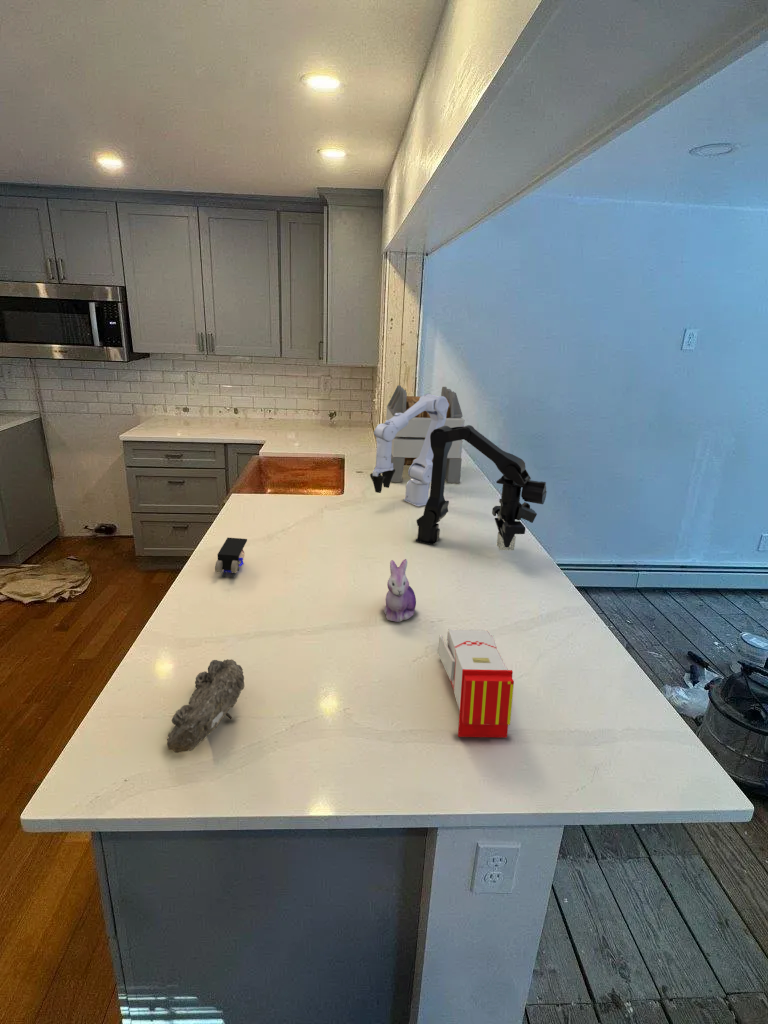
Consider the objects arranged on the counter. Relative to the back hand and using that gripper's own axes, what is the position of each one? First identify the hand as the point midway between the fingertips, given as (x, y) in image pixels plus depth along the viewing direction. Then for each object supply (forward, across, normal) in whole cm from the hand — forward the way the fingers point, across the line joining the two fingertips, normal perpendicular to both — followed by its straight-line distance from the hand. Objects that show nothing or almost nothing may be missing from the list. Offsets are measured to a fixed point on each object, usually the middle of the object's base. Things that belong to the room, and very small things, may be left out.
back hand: (382, 489), depth 220 cm
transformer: (+8, +58, +6) cm, 59 cm away
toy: (+8, -93, -63) cm, 113 cm away
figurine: (+8, -70, -38) cm, 80 cm away
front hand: (+3, -21, -54) cm, 58 cm away
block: (+5, -21, -54) cm, 58 cm away
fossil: (+8, -123, -22) cm, 126 cm away
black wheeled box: (+8, -71, +16) cm, 73 cm away
